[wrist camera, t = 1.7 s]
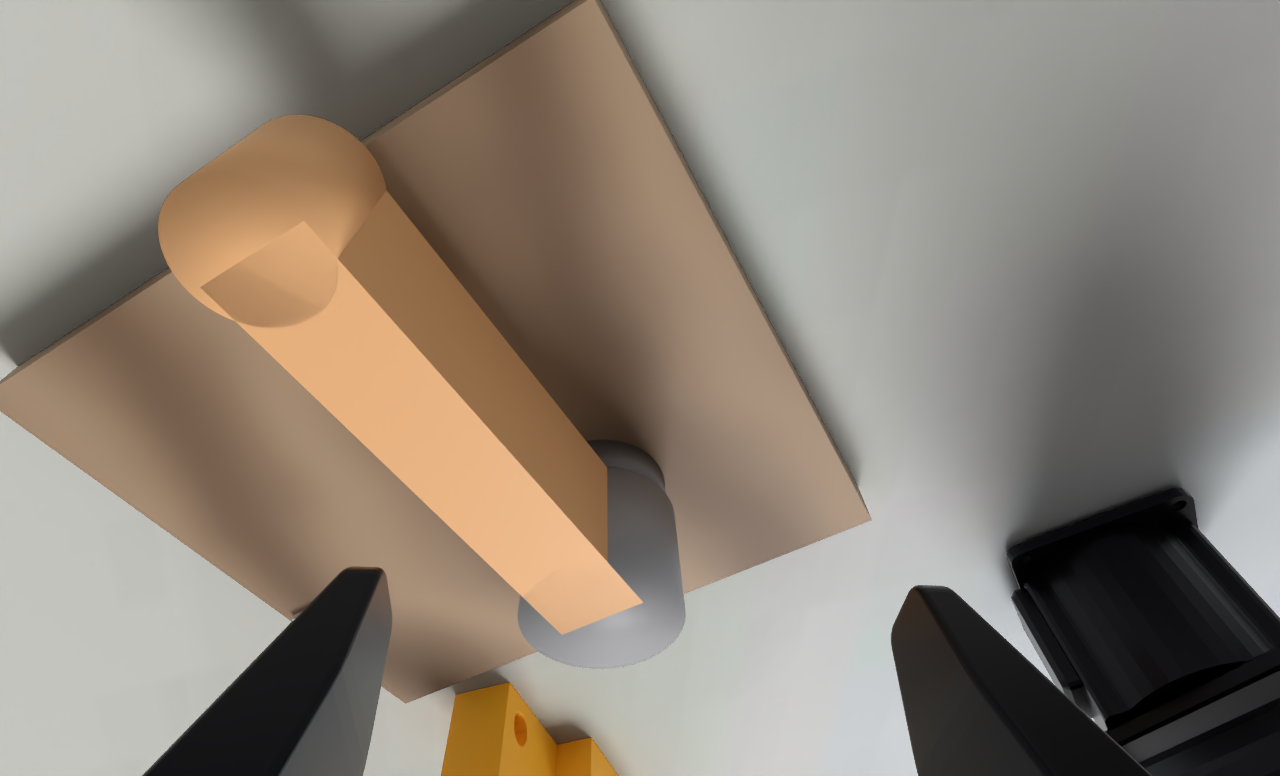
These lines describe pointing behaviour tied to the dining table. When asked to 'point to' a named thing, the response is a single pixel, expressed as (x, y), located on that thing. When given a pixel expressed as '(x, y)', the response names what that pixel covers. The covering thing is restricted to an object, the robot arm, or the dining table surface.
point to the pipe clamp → (512, 740)
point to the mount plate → (528, 320)
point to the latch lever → (427, 384)
